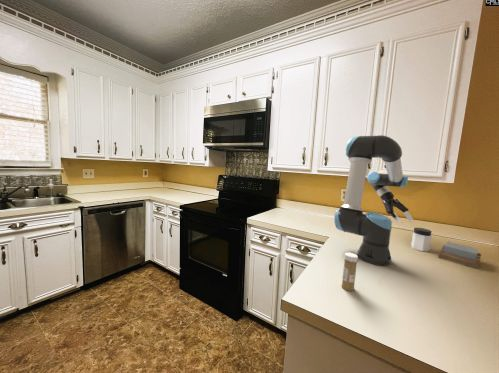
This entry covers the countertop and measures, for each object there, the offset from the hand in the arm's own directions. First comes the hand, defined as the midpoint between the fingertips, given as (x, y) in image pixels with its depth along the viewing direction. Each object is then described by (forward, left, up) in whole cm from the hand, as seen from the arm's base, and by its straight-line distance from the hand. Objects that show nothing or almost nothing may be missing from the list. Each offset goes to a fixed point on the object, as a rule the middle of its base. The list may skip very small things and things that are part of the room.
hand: (405, 221), depth 135 cm
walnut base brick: (+17, -21, -14) cm, 30 cm away
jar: (+5, -9, -14) cm, 18 cm away
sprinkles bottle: (-56, -60, -14) cm, 83 cm away
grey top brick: (+17, -21, -11) cm, 29 cm away
